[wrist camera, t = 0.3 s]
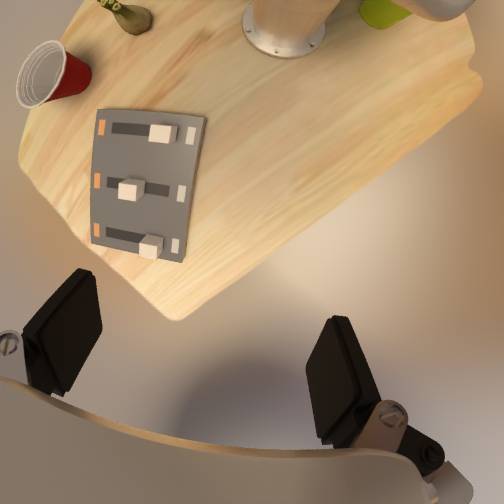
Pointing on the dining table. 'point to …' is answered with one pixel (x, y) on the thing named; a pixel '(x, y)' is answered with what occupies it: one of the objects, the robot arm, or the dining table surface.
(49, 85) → the plastic cup
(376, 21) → the soap dispenser
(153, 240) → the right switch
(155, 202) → the switch panel
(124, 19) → the fennel bulb
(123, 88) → the dining table surface
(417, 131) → the dining table surface
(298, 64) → the dining table surface
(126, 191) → the switch
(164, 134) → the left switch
